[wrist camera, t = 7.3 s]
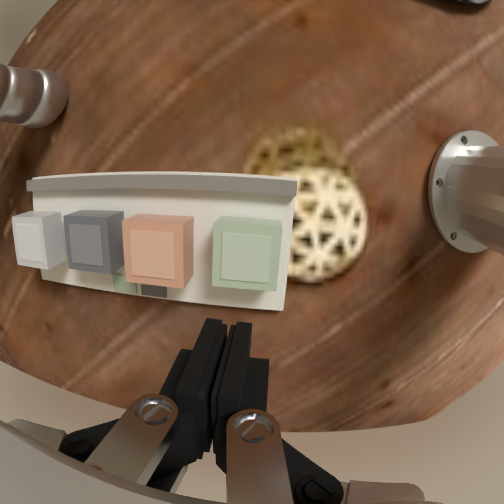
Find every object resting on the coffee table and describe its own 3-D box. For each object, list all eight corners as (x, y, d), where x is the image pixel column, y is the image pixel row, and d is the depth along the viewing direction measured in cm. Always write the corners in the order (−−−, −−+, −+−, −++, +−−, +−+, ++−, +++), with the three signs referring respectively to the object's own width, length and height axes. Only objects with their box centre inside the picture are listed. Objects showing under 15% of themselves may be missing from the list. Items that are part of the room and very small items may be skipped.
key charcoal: (123, 211, 24) (106, 217, 22) (126, 263, 26) (110, 275, 23) (81, 209, 25) (62, 215, 22) (85, 258, 26) (68, 269, 23)
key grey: (61, 211, 24) (41, 217, 21) (65, 260, 25) (47, 270, 22) (30, 211, 24) (11, 217, 21) (35, 255, 26) (17, 264, 23)
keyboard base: (295, 177, 24) (297, 178, 22) (282, 305, 28) (283, 315, 26) (37, 176, 25) (26, 178, 24) (47, 276, 29) (37, 282, 27)
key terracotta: (193, 216, 23) (182, 224, 20) (193, 274, 25) (183, 289, 22) (138, 213, 23) (121, 220, 20) (140, 269, 25) (125, 282, 22)
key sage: (281, 220, 24) (282, 228, 21) (275, 277, 25) (276, 291, 22) (220, 215, 24) (213, 223, 21) (218, 272, 26) (211, 286, 23)
